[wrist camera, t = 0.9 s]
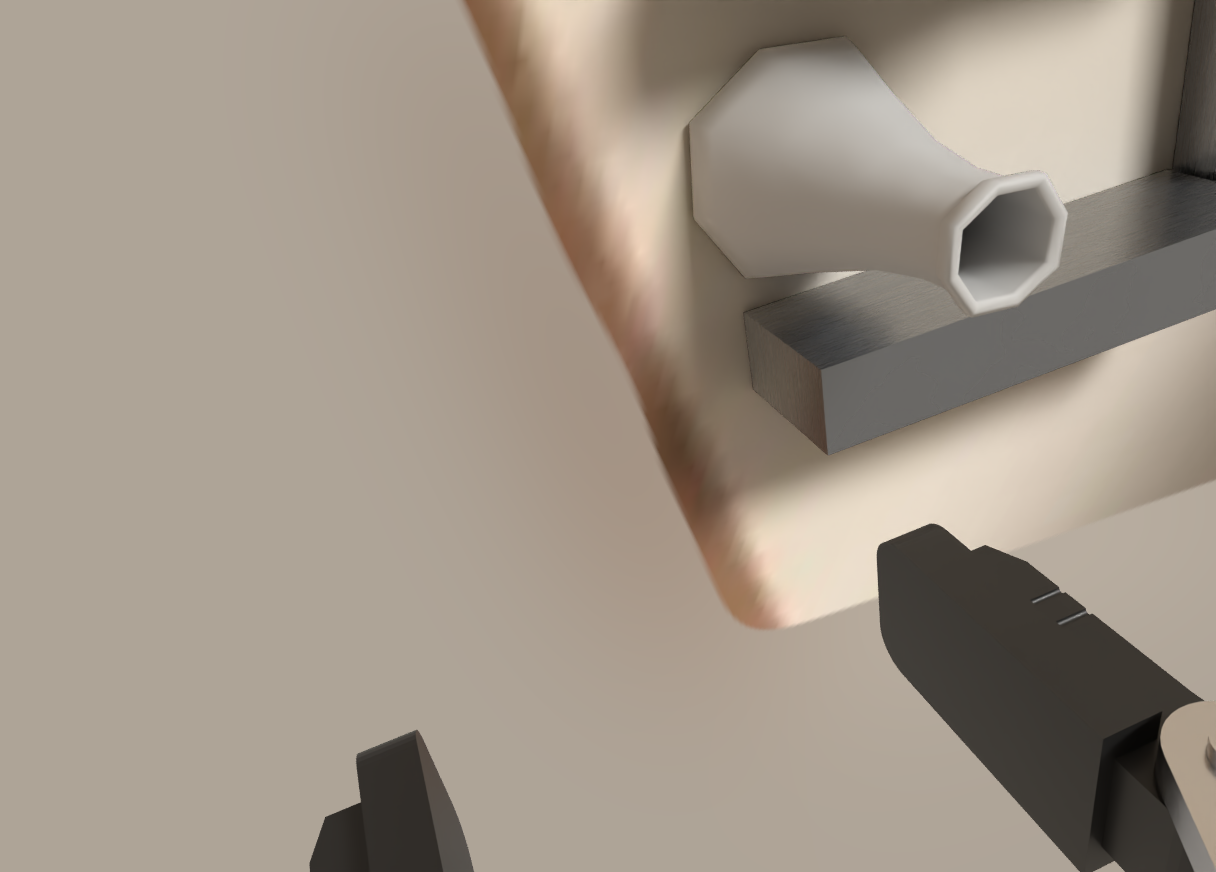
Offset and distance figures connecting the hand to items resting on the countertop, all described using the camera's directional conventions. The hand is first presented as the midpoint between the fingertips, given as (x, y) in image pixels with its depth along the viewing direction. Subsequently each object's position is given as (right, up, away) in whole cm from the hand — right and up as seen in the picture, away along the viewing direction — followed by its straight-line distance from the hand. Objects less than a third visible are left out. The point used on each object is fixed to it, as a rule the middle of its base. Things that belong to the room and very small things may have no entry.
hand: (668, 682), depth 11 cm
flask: (+5, +12, +17) cm, 21 cm away
